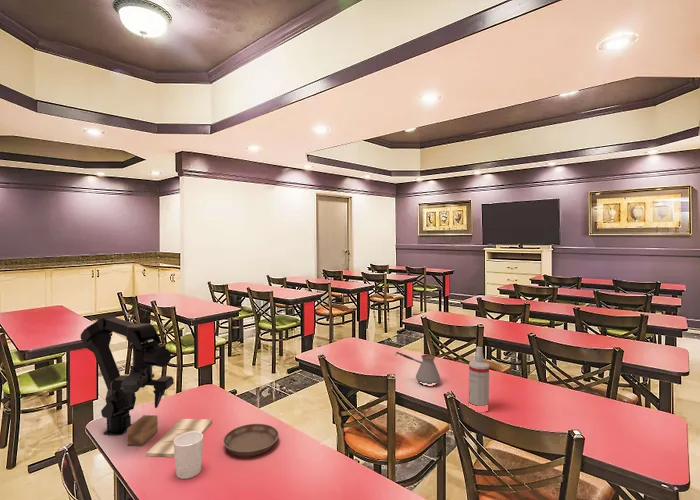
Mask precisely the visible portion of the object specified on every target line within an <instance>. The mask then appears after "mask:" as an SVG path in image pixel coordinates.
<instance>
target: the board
mask: <svg viewBox="0 0 700 500" xmlns="http://www.w3.org/2000/svg"><path fill="white" fill-rule="evenodd" d="M212 423H213V419H209V418H208V419H207V418H206V419H201V418H200V419H199V418H179V420H178V421H177V422H176V423H175V424H174V425H172V426H171V428H170V429H168V430H167V432H166V433H165V434H164V435H163V436H162V437H161V438H160V439H158V441H156V443H155V444H154V445H153V446H152V447H150V448H149V450H148V451H147V452H146V453H145V456H146V457H154V458H155V457H156V458H157V457H158V458H160V457H164V458H167V457H168V458H175V455H174V439H175V438H176V437H177V436H179V435H181V434H183V433H187V432H200V433H202V434H203V435H204V433H205V432H206V431H207V430H208V428H209V427H210V425H211V424H212Z"/></svg>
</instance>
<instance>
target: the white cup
mask: <svg viewBox="0 0 700 500" xmlns="http://www.w3.org/2000/svg"><path fill="white" fill-rule="evenodd" d="M203 446H204V433H203V434H202V433H200V432H187V433H183V434H181V435H179V436H177V437H176V438H175V439H174V455H175V457H174V465H175V474H176V477H177V478H179V479H182V480H184V479H185V480H188V479H191V478H192V479H193V478H194V477H196V476H198V474H200V473H201V471H202V464H203V463H202V461H203V448H204V447H203Z"/></svg>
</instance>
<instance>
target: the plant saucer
mask: <svg viewBox="0 0 700 500" xmlns="http://www.w3.org/2000/svg"><path fill="white" fill-rule="evenodd" d="M279 436H280V435H279V431H278V430H277V428H275V427H274V426H272V425H270V424H269V425H268V424H265V423H251V424H245V425H239V426H238V427H236V428H235V427H234V428H233V429H232V430H230V431H229V432H227V434H225V435H224V438H223V445H224V447H225V449H227V451H229V452H230V453H232V454H233V455H235V456H238V457H244V458H245V457H246V458H249V457H255V456H259V455H262V454H264V453H266V452H267V451H269V450H270V449H271V448H272V447H273V446H274V444H276V442H277V440H278V439H279Z"/></svg>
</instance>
